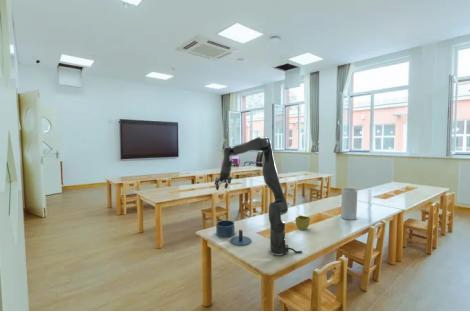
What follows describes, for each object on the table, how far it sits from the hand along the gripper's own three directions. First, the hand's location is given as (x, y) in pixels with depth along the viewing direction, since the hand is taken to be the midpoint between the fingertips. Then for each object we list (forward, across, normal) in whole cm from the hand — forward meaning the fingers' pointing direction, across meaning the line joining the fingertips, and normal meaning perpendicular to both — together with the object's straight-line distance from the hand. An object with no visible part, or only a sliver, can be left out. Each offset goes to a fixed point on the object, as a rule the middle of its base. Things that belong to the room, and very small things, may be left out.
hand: (221, 188), depth 199 cm
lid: (+18, -7, -39) cm, 44 cm away
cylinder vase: (+9, +97, -65) cm, 117 cm away
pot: (+25, -7, -23) cm, 35 cm away
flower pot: (+13, +45, -53) cm, 71 cm away
